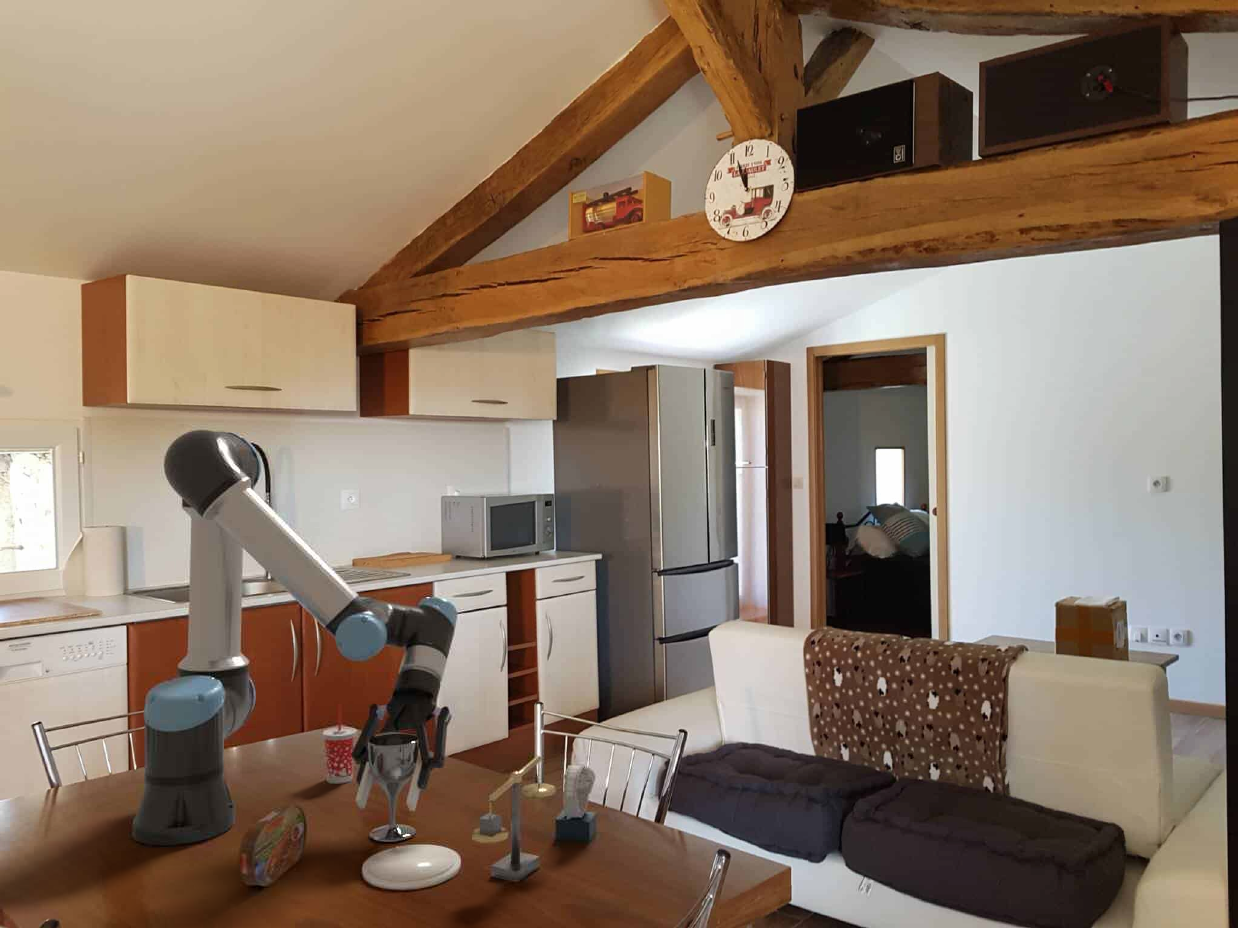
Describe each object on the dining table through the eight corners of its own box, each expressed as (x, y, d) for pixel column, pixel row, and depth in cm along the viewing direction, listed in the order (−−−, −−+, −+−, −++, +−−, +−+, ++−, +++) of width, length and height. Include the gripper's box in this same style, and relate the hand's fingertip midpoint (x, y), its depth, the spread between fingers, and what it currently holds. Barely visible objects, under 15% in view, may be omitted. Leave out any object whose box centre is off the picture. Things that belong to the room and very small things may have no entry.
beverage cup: (351, 784, 178) (351, 708, 178) (318, 784, 178) (318, 708, 178) (360, 774, 184) (360, 700, 184) (328, 774, 184) (328, 700, 184)
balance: (495, 899, 130) (495, 787, 130) (465, 892, 133) (464, 782, 133) (561, 852, 146) (561, 752, 146) (533, 846, 149) (533, 748, 149)
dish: (341, 877, 137) (341, 869, 137) (405, 843, 150) (405, 836, 150) (419, 897, 131) (419, 889, 131) (479, 859, 144) (479, 852, 144)
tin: (255, 896, 131) (255, 834, 132) (234, 895, 132) (234, 833, 132) (308, 853, 146) (308, 797, 146) (289, 851, 147) (289, 796, 147)
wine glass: (405, 844, 149) (406, 747, 149) (357, 840, 150) (358, 743, 150) (426, 825, 157) (426, 733, 157) (380, 821, 158) (381, 730, 158)
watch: (599, 827, 157) (599, 759, 157) (586, 846, 149) (586, 774, 149) (566, 824, 158) (565, 757, 158) (551, 843, 150) (551, 772, 150)
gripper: (481, 692, 168) (453, 819, 151) (368, 688, 170) (329, 813, 154) (473, 668, 162) (443, 797, 146) (357, 664, 165) (315, 790, 149)
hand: (385, 805), depth 150 cm, fingers closed on wine glass, 7 cm apart
